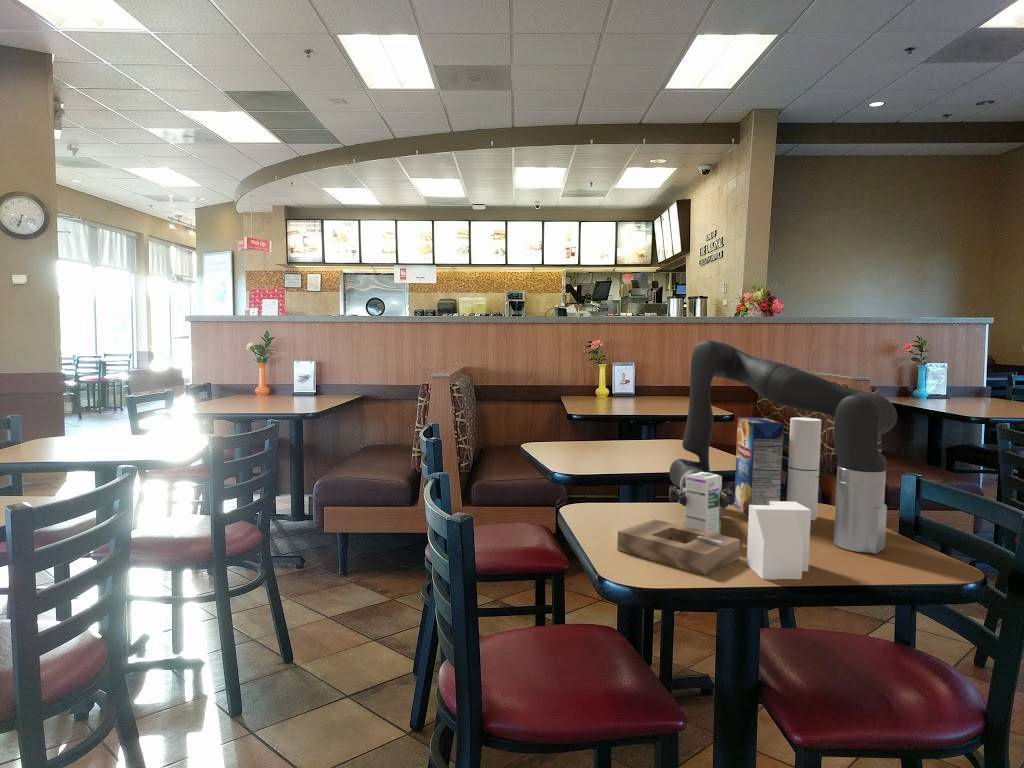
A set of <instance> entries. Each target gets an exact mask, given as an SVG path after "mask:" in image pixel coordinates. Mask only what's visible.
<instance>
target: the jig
mask: <svg viewBox="0 0 1024 768" xmlns="http://www.w3.org/2000/svg"><path fill="white" fill-rule="evenodd" d="M740 540H741V539H739V538H736V537H731V536H727V535H723V534H721V535H719V534H715V533H711V532H707V531H702V530H698V529H694V528H690V527H685V525H680V524H676V523H672V522H668V521H664V520H659V519H651V520H649V521H645V522H643V523H639V524H636V525H633V526H630V527H628V528H624V529H621V530H618V531H617V543H616V544H617V548H616V549H617V551H618V550H620V551H619V552H622V551H623V552H622V553H625V552H627V553H626V554H629V553H631V554H630V555H632V554H634V555H633V556H636V555H638V556H637V557H639V556H640V558H643V557H644V558H643V559H646V558H647V560H650V561H653V560H654V561H653V562H656V563H657V562H658V563H661V564H664V565H667V564H668V566H670V565H671V567H674V566H675V567H674V568H677V567H678V569H681V570H684V569H685V571H688V572H691V571H692V573H695V572H696V573H695V574H698V573H700V574H699V575H702V574H703V575H702V576H706V574H707V575H709V574H711V573H713V572H715V571H717V570H719V569H720V568H723V567H725V566H728V565H729V564H731V563H733V562H735V561H738V560H739V559H740V548H741V547H740V544H741V543H740V542H741V541H740ZM716 569H717V570H716ZM714 570H715V571H714ZM712 571H713V572H712ZM710 572H711V573H710ZM708 573H709V574H708Z"/></svg>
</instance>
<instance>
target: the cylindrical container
mask: <svg viewBox="0 0 1024 768" xmlns="http://www.w3.org/2000/svg"><path fill="white" fill-rule="evenodd" d="M789 419H790V422H789V441H788V443H789V444H788V460H787V462H788V463H787V466H788V467H787V486H786V487H787V488H786V489H787V490H786V501H787V502H797V503H799V504H801V505H803V506H804V507H806V508H808V509H810V510H811V520H813V521H816V520H817V519H816V518H818V504H819V503H818V501H819V500H818V499H819V498H818V497H819V482H820V481H819V479H820V477H819V476H820V461H821V438H822V437H821V436H822V419H819V418H813V417H812V418H811V417H791V418H789ZM815 519H816V520H815Z"/></svg>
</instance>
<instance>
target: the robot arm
mask: <svg viewBox="0 0 1024 768" xmlns="http://www.w3.org/2000/svg"><path fill="white" fill-rule="evenodd" d="M713 377H714V378H715V377H716V378H721V379H722V378H723V379H726V380H727V379H728V380H732V381H735V382H737V383H738V382H739V383H741V384H744V385H746V386H748V387H750V388H751V389H752V390H753V391H755V392H756V393H757V394H759V396H762V397H764V398H766V399H768V400H770V401H772V402H775V403H777V404H779V405H783V406H786V407H788V408H794V409H797V410H801V411H802V410H803V411H807V412H814V413H818V414H823V415H828V416H830V417H834V422H833V425H834V426H833V427H834V428H833V431H834V433H833V434H834V435H833V436H834V441H833V444H834V445H833V446H834V453H835V456H836V458H837V472H836V473H837V474H836V489H835V490H836V491H835V492H836V493H835V508H834V509H835V510H834V511H835V512H834V529H833V530H834V531H833V544H834V545H835V546H836V547H838V548H840V549H843V550H847V551H852V552H858V553H865V554H866V553H869V554H874V555H877V554H879V553H880V552H881V551H883V550H884V549H885V548H886V534H887V533H886V532H887V530H886V529H887V514H888V506H887V504H885V494H886V477H887V475H886V473H887V458H886V457H885V455H883V454H881V452H880V451H879V444H878V443H879V436H880V435H883V434H886V433H888V432H889V431H891V430H892V429H893V428H894V427H895V426H896V423H897V421H898V413H897V409H896V408H895V406H894V404H893V403H892V402H891V401H890V400H889V399H888V398H886V397H885V396H883V395H880V394H877V393H873V392H867V391H863V390H859V389H854V388H852V387H846V386H843V385H840V384H837V383H835V382H832V381H830V380H827V379H825V378H822V377H820V376H818V375H814V374H812V373H809V372H806V371H804V370H802V369H800V368H796V367H794V366H792V365H791V366H790V365H788V364H785V363H782V362H778V361H774V360H770V359H769V360H768V359H763V358H757V357H755V356H752V355H750V354H747V353H745V351H744V352H743V351H741V350H740V349H738V348H735V347H734V346H732V345H730V344H728V343H724V342H721V341H720V342H719V341H715V340H707V339H705V340H702V341H700V342H698V343H697V344H696V345H695V346H694V349H693V350H692V354H691V359H690V378H689V379H690V380H689V397H688V398H689V399H688V412H687V419H686V423H685V429H684V433H683V439H682V448H683V450H685V451H686V452H688V453H692V454H693V455H695V456H697V457H698V461H695V460H691V459H690V460H688V459H685V458H678V459H675V460H674V461H673V462H672V463H671V465H670V467H669V478H670V480H671V482H672V484H673V485H669V497H668V499H669V502H671V503H674V502H676V501H677V502H678V504H679V505H682V507H685V506H686V475H690V474H695V473H699V472H707V473H711V469H710V446H711V441H712V436H713V431H714V413H713V409H712V408H713V407H712V401H711V385H712V381H713ZM678 488H679V489H678ZM734 500H735V492H733V491H732V490H731V489H730V488H729V487H728V488H724V489H723V490H722V498H721V509H726V508H728V507H729V506H734Z"/></svg>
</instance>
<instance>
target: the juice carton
mask: <svg viewBox="0 0 1024 768" xmlns="http://www.w3.org/2000/svg"><path fill="white" fill-rule="evenodd" d="M784 424H785V423H784V422H783V423H782V422H780V421H777V420H773V419H770V418H766V417H737V427H736V451H735V452H736V456H735V477H734V478H735V480H734V494H735V495H734V503H739V504H734V505H733V506H734V507H735V508H736V509H737V510H739V511H740V512H741V513H743V514H744V515H745V516H747V517H748V518H749V505H769V501H781V497H782V496H781V495H782V493H781V492H782V472H783V471H782V469H783V451H784V450H783V449H784V448H783V447H784V427H785V426H784Z"/></svg>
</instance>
